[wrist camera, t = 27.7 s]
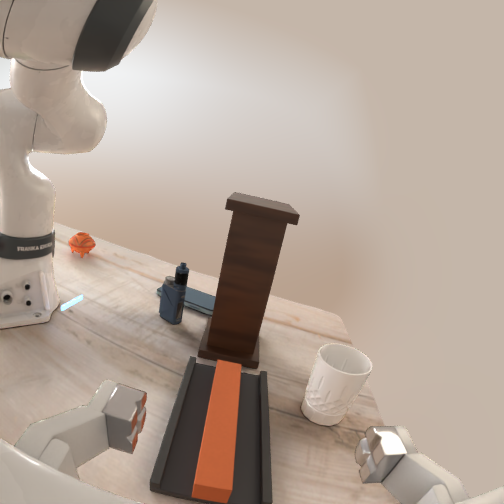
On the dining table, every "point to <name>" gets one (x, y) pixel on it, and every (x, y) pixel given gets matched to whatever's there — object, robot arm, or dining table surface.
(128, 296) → the dining table surface
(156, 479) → the seat base
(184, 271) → the vaping device
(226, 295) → the wooden display pedestal
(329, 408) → the white cup
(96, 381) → the dining table surface
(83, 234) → the pot
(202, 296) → the smartphone
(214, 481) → the orange long block
